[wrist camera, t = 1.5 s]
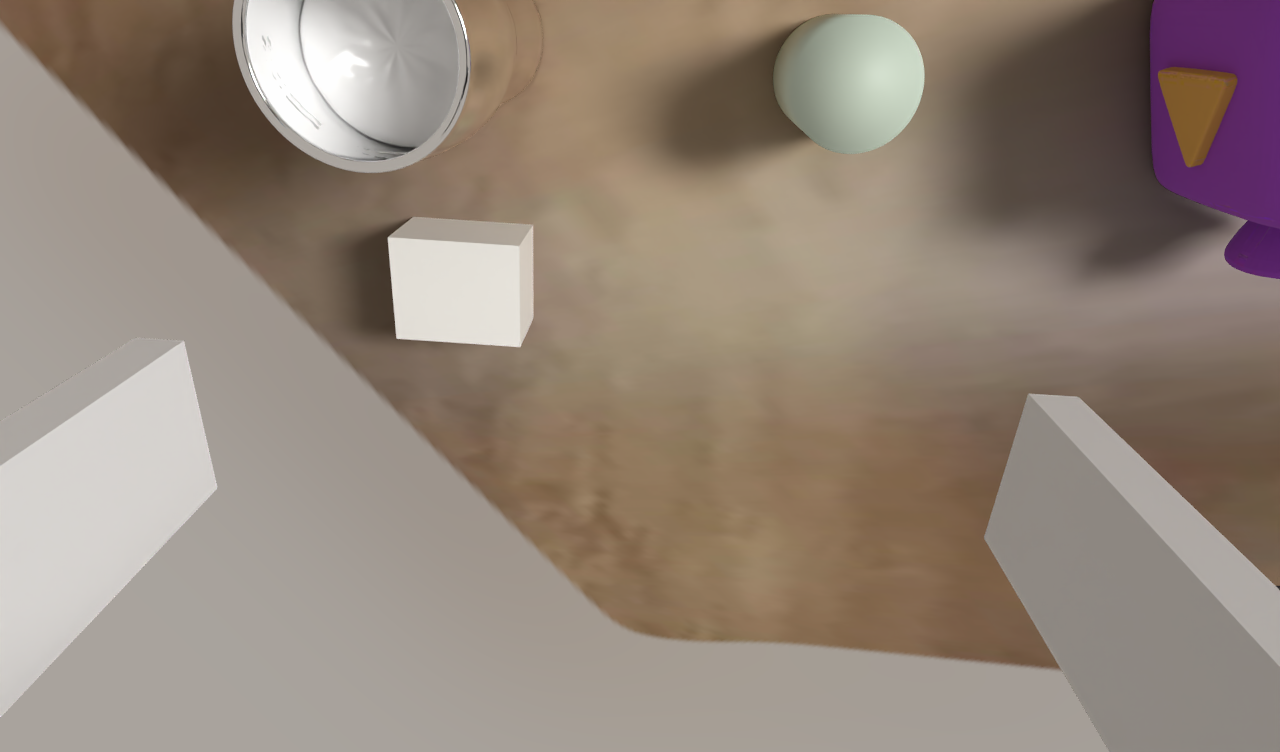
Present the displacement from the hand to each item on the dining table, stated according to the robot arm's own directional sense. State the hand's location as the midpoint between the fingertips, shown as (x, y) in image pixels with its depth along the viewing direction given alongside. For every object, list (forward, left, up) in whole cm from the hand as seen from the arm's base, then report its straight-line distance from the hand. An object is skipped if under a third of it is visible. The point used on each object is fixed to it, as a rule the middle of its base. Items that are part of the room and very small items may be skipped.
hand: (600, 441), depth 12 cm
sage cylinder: (-4, +8, -27) cm, 28 cm away
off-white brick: (+7, -8, -27) cm, 29 cm away
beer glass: (-4, -8, -27) cm, 29 cm away
